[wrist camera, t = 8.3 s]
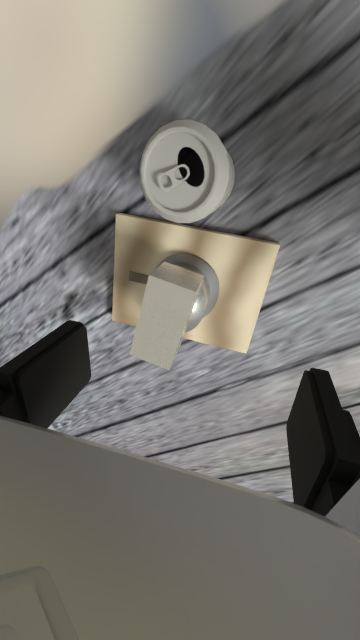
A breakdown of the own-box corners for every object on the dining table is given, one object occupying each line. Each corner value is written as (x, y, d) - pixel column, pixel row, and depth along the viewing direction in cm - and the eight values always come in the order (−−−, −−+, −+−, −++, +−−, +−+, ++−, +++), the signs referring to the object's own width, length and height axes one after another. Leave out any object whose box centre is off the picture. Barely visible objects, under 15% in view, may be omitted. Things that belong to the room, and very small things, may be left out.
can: (246, 193, 31) (244, 195, 20) (188, 225, 34) (161, 242, 23) (217, 124, 29) (199, 87, 18) (159, 164, 32) (113, 153, 21)
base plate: (278, 242, 32) (281, 246, 30) (246, 348, 39) (246, 357, 37) (120, 212, 35) (112, 214, 33) (116, 316, 42) (109, 323, 40)
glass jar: (165, 247, 33) (135, 269, 24) (221, 267, 32) (210, 297, 24) (147, 319, 38) (116, 359, 29) (195, 337, 37) (178, 383, 28)
